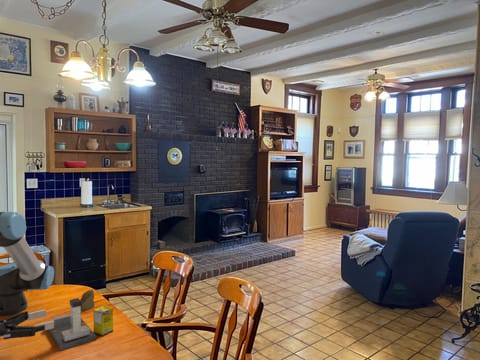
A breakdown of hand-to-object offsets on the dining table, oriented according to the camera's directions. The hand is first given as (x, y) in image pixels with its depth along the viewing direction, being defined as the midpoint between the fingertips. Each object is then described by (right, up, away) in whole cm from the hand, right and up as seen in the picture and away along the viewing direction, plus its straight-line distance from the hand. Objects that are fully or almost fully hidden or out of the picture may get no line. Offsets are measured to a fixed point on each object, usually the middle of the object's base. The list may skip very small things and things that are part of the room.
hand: (49, 318), depth 146 cm
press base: (+2, -12, +13) cm, 18 cm away
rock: (-3, -11, +40) cm, 42 cm away
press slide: (+7, -10, +7) cm, 14 cm away
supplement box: (+16, -12, +15) cm, 25 cm away
